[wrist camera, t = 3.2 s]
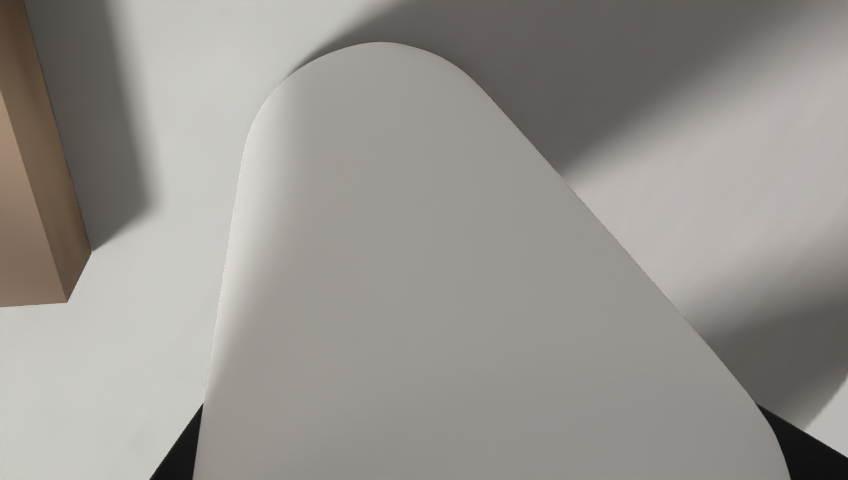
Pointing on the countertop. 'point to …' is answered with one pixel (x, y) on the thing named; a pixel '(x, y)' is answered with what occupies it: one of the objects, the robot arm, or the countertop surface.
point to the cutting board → (33, 179)
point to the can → (444, 305)
